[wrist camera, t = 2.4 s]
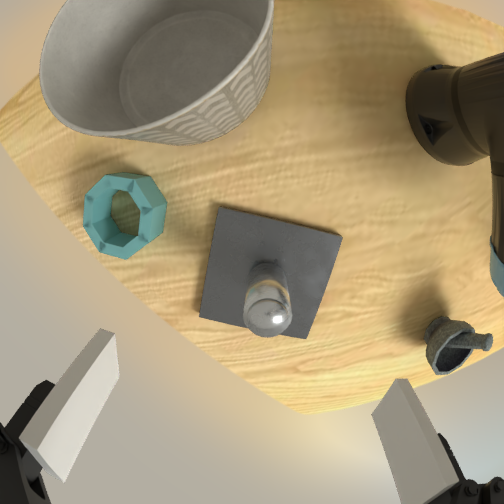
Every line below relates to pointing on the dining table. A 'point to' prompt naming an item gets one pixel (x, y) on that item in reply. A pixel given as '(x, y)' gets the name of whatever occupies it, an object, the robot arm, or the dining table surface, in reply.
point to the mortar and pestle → (452, 344)
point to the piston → (267, 273)
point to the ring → (104, 226)
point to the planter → (157, 67)
